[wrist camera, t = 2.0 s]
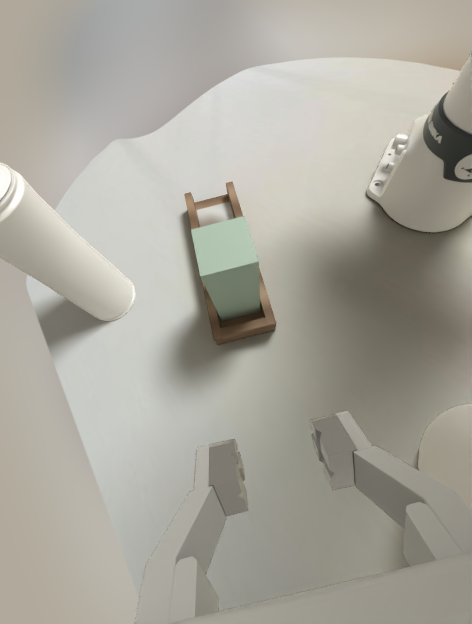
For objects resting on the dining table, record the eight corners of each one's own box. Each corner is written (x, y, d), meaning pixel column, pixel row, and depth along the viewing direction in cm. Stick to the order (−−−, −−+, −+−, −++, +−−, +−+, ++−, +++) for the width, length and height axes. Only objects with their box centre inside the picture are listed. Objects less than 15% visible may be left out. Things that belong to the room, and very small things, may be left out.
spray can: (65, 318, 42) (-178, 209, 19) (85, 264, 46) (-98, 118, 23) (128, 322, 41) (-52, 210, 17) (143, 266, 44) (12, 112, 21)
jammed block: (260, 311, 37) (258, 261, 24) (222, 321, 38) (200, 276, 25) (250, 278, 40) (244, 215, 27) (214, 287, 40) (190, 229, 27)
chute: (275, 330, 38) (276, 322, 34) (217, 344, 38) (213, 338, 34) (234, 196, 48) (232, 181, 45) (189, 208, 48) (184, 193, 45)
